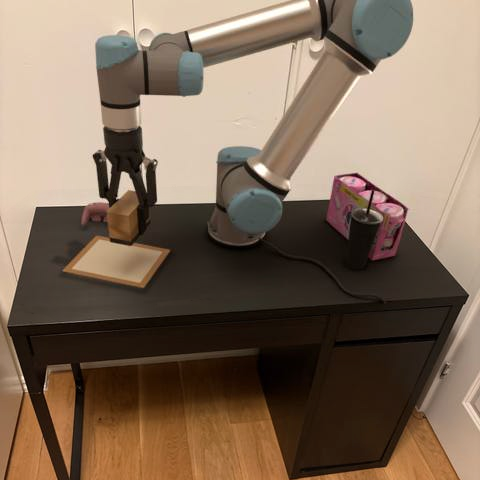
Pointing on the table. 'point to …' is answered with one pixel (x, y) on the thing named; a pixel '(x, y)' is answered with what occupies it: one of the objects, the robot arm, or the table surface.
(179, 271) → the table surface
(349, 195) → the gum box
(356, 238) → the drinking cup
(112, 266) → the board
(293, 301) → the table surface
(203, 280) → the table surface
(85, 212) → the video game controller
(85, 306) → the table surface
